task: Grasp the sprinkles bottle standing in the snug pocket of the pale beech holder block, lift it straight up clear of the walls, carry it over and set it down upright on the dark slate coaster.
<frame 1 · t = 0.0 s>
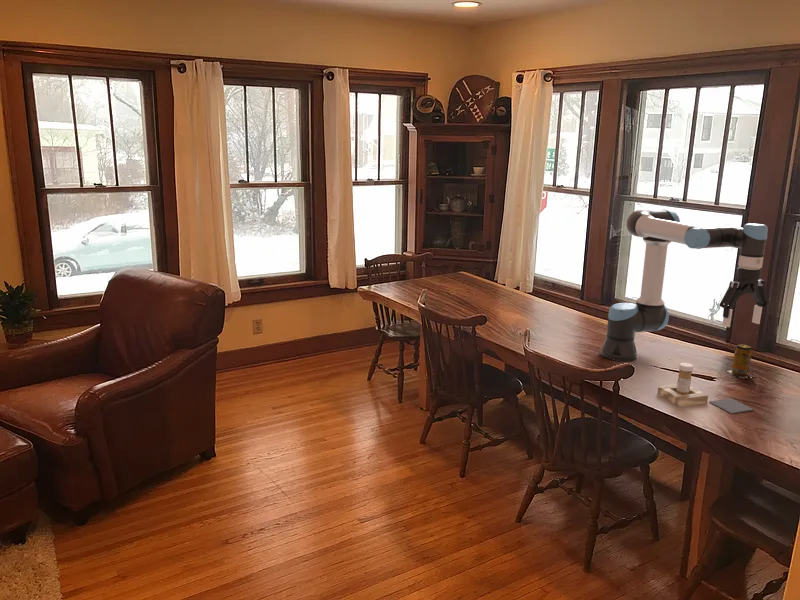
hand: (741, 324, 226), 28 cm above the table, fingers open, 13 cm apart
holder: (681, 398, 230), on the table
condiment: (740, 374, 254), on the table
sprinkles bottle: (681, 398, 230), resting in holder
coaster: (731, 406, 223), on the table
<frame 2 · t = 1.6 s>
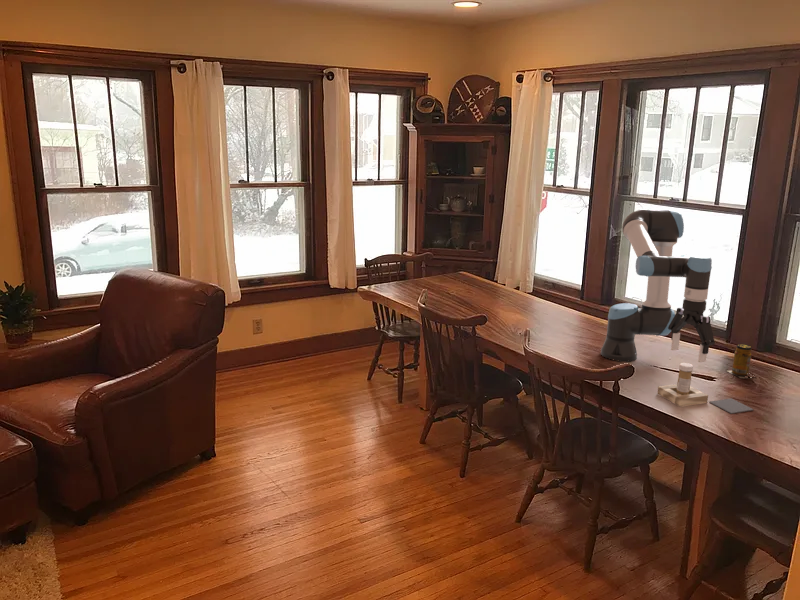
hand: (687, 355, 226), 17 cm above the table, fingers open, 13 cm apart
nothing on the table moved.
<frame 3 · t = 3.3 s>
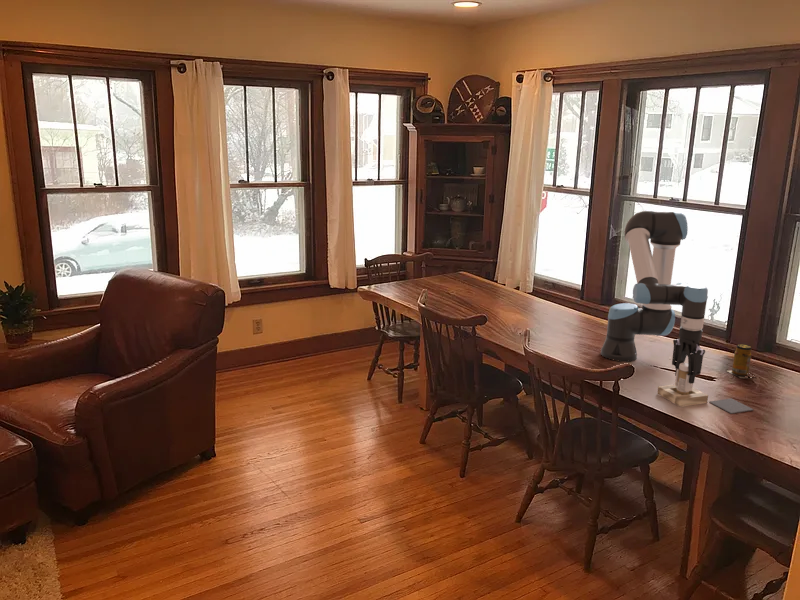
hand: (683, 387, 229), 4 cm above the table, fingers closed on sprinkles bottle, 4 cm apart
sprinkles bottle: (681, 398, 230), resting in holder, touching gripper
everything else where it was.
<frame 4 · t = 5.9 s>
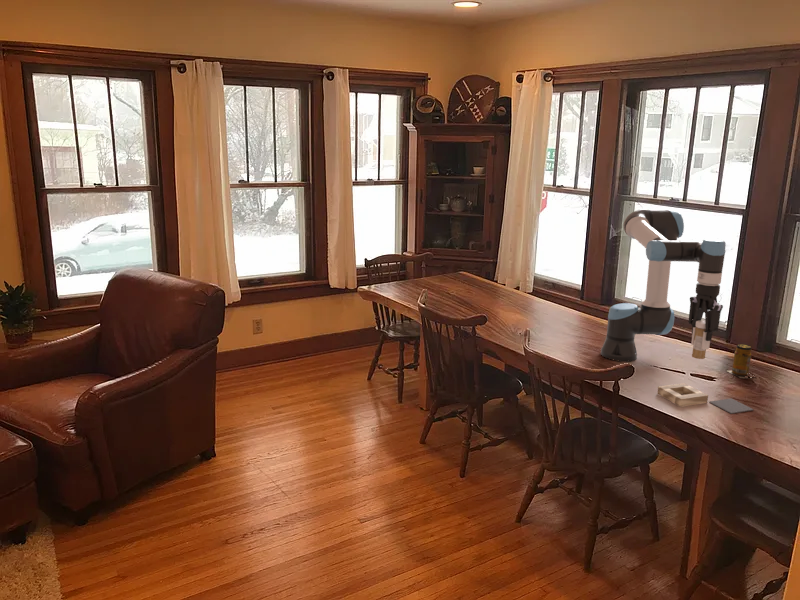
hand: (700, 346, 223), 21 cm above the table, fingers closed on sprinkles bottle, 4 cm apart
sprinkles bottle: (698, 357, 224), point 17 cm above the table, touching gripper
everything else where it was.
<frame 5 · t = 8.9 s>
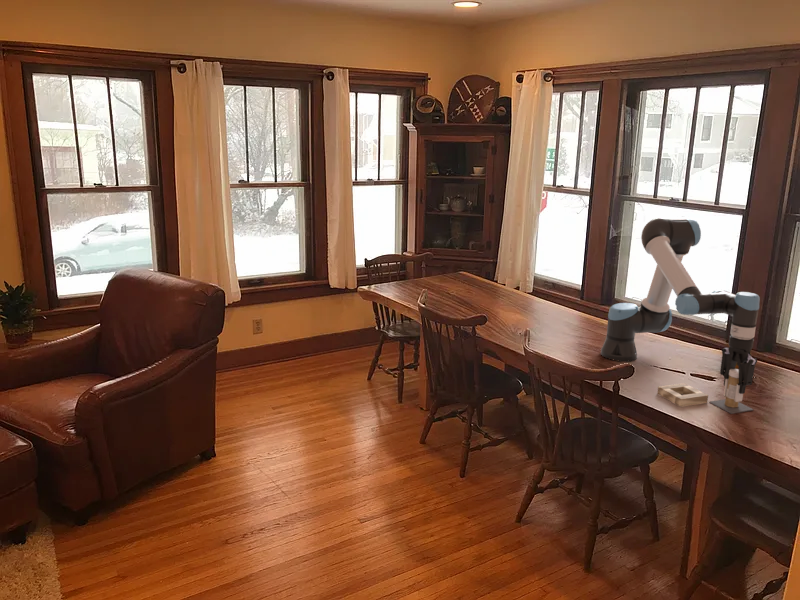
hand: (732, 398, 223), 3 cm above the table, fingers closed on sprinkles bottle, 4 cm apart
sprinkles bottle: (731, 406, 223), resting on coaster, touching gripper
everything else where it was.
when the fingers open (3 cm above the table, at t = 9.0 s): sprinkles bottle stays where it is, resting on coaster.
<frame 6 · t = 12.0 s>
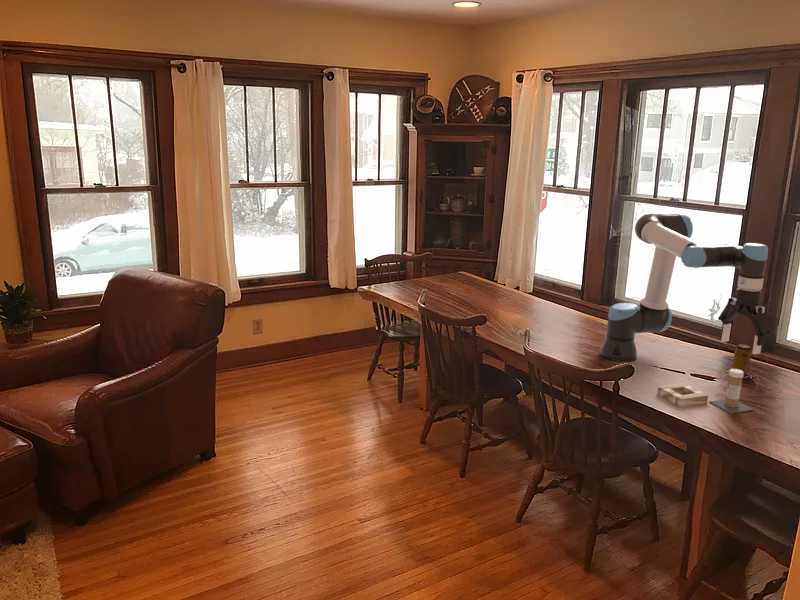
hand: (740, 347, 218), 23 cm above the table, fingers open, 13 cm apart
sprinkles bottle: (731, 406, 223), resting on coaster
everything else where it was.
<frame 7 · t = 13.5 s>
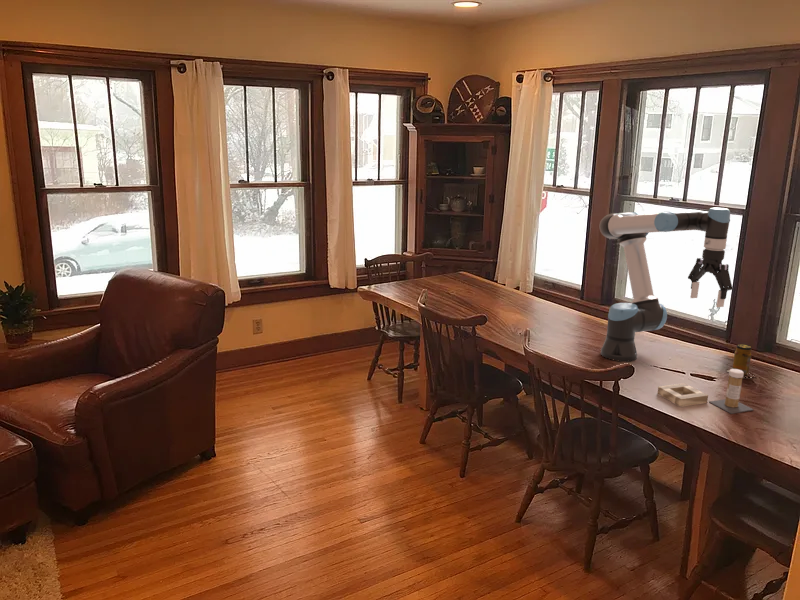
hand: (706, 302, 243), 31 cm above the table, fingers open, 13 cm apart
nothing on the table moved.
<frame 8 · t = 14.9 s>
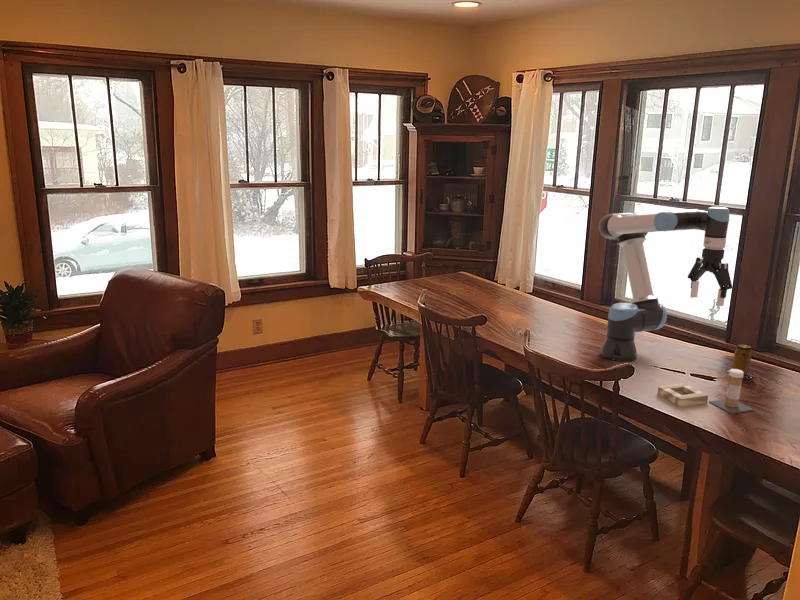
hand: (706, 301, 243), 32 cm above the table, fingers open, 13 cm apart
nothing on the table moved.
at the end: sprinkles bottle 0.1 cm from the coaster (horizontally); sprinkles bottle tilted 0°; sprinkles bottle resting on coaster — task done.
